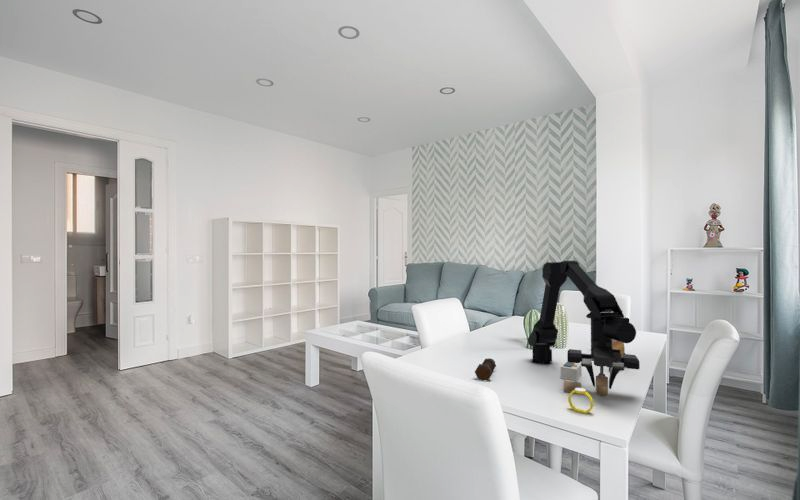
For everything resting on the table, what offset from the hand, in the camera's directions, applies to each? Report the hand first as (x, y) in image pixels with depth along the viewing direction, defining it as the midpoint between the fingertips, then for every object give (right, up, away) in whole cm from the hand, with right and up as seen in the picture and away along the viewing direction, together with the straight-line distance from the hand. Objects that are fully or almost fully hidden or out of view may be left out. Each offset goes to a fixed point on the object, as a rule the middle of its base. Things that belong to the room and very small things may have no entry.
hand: (601, 387), depth 115 cm
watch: (-12, -2, -12) cm, 17 cm away
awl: (0, -2, 0) cm, 2 cm away
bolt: (-30, -3, +19) cm, 36 cm away
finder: (-2, -2, +15) cm, 16 cm away
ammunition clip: (+18, -2, +23) cm, 29 cm away
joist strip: (-3, -2, +12) cm, 13 cm away
